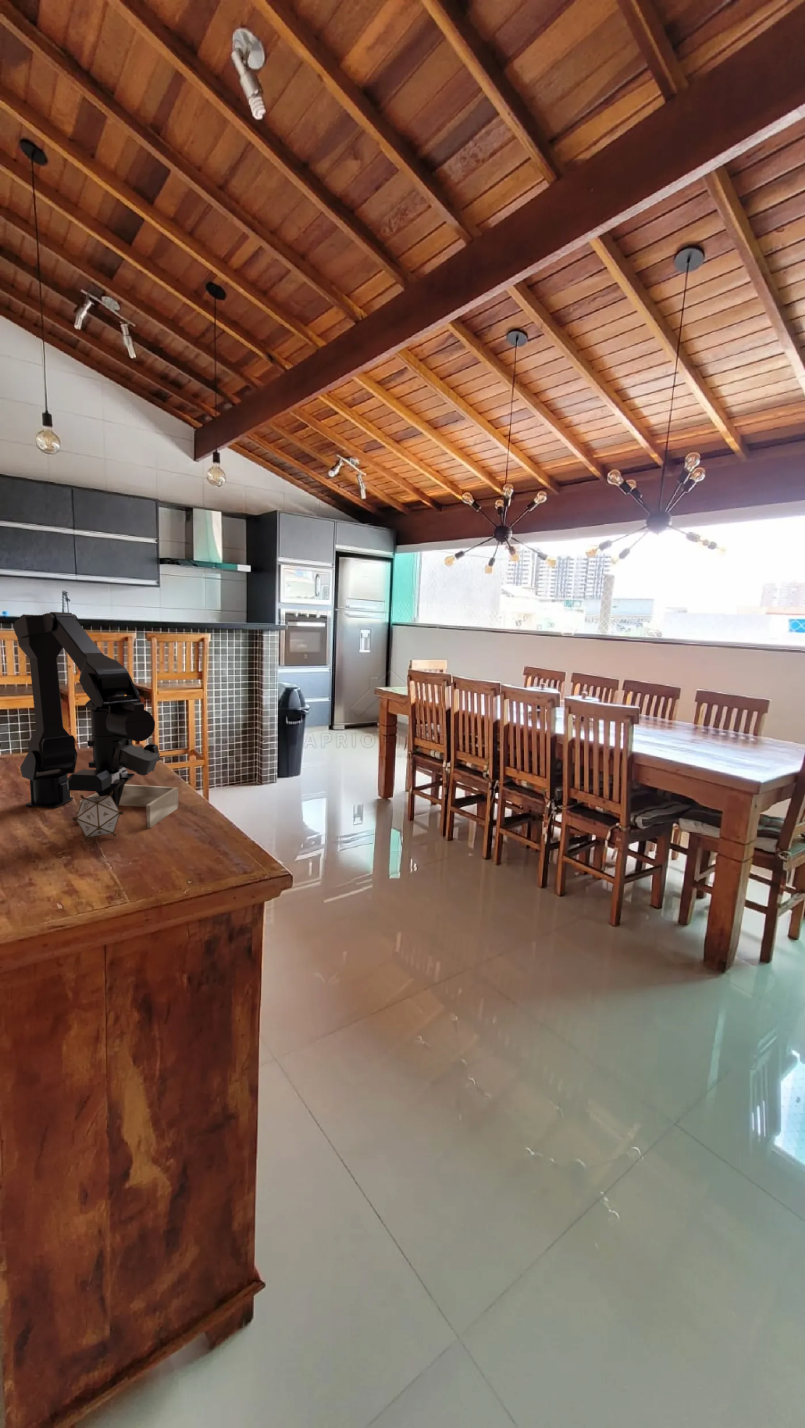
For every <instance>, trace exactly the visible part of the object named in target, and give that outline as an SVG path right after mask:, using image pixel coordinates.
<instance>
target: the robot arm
mask: <svg viewBox="0 0 805 1428" xmlns="http://www.w3.org/2000/svg"><path fill="white" fill-rule="evenodd" d="M13 626H14V627H13V631H14V634H15V636H16V638H17V643H18V647H19V648H20V649H21V650H22V652H23V654H25V656H26V657H27V658H28V660H29V669H30V679H31V689H32V698H33V708H34V721H35V731H34V732H33V734H32V735H31V737H30V739H29V741H28V744H27V745H28V747H27V748H28V752H27V754H26V756H25V758H24V759H23V761H22V763H21V765H20V766H19V768H20V774H21V777H22V778H24V779H27V780H29V788H30V789H29V790H30V791H29V792H30V801H29V802H26V803H25V807H28V808H29V807H34V808H45V809H46V808H48V809H49V808H50V809H55V808H58V807H61V806H62V805H65V804H66V803H69V802H70V801H73V800H74V797H73V796H71V791H74V792H75V791H76V792H77V791H79V792H95V793H97V794H98V795H99V796H106V795H110V792H112V791H113V795H111V797H112V798H113V800H114V802H115V804H116V806H117V807H118V808H119V806H120V805H119V802H120V798H121V795H122V791H123V788H124V785H125V784H126V783H128V782H129V780H131V779H132V778H134V777H135V773H136V774H137V775H139V776H146V775H148V774H149V773H151V772H154V771H155V768H156V766H157V763H158V762H159V761H160V760H161V756H160V755H161V753H160V752H159V746H158V744H155V743H154V742H150V743H148V744H146V745H145V746H144V747H143V745H140V746H136V745H135V744H133V741H134V742H139V743H140V742H144V741H146V740H147V739H150V737H151V736H152V735H153V733H154V731H155V728H156V721H155V719H154V716H153V715H152V713H151V712H149V711H148V710H145V704H144V702H142V699H141V697H140V695H141V694H140V691H139V690H138V689H137V686H136V685H135V683H134V681H133V678H132V677H131V674H130V673H129V670H127V668H126V667H125V666H123V665H122V664H121V663H120V662H119V661H117V660H116V659H113V658H111V657H108V656H106V655H105V654H104V653H103V652H102V651H101V650H100V648H99V647H98V646H97V644H96V643H95V642H94V641H93V640H92V638H91V637H90V636H89V634H88V633H87V631H85V629H84V628H83V627H82V625H81V624H80V622H79V618H78V617H77V615H76V614H74V613H72V612H67V611H66V612H63V611H60V612H59V611H50V612H47V613H44V614H25V613H24V614H22V615H20V616H19V619H16V620H15V622H14V624H13ZM63 649H64V651H65V652H66V653H67V655H68V656H69V657H70V659H71V660H72V661H73V663H74V664H75V666H76V668H77V669H78V670H79V672H80V673H79V678H78V682H79V684H80V685H81V688H82V690H83V691H84V692H85V695H87V696H88V699H89V700H88V701H87V702H86V703H85V704H84V708H88V709H90V721H91V722H90V727H91V739H88V740H87V741H86V742H87V743H86V744H87V747H92V757H93V759H92V760H91V761H89V762H88V769H87V768H85V769H84V768H82V769H81V770H80V769H79V770H78V771H76V772H75V770H76V765H77V758H78V752H77V748H76V738H75V736H74V735H73V734H69V732H68V731H67V730H66V729H65V728H64V719H63V709H62V700H61V688H60V687H61V686H60V678H59V667H58V665H59V664H58V657H59V656H60V653H61V652H62V651H63ZM89 768H90V769H89ZM128 770H130V771H132V772H135V773H128ZM69 774H71V775H69ZM68 775H69V776H68Z"/></svg>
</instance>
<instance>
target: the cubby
mask: <svg viewBox="0 0 805 1428" xmlns="http://www.w3.org/2000/svg"><path fill="white" fill-rule="evenodd" d="M97 796H99V795H98V794H97V792H95V793H93V794H90V795H89V796H86V798H89V797H97ZM82 800H83V799H81V800H79V801H78V809H79V808H80V805H81V803H82ZM119 806H127V807H144V808H146V809H145V810H146V812H145V813H146V828H148V829H151V828H152V827H154V826H155V825H156V824H158V823H159V822H161V821H162V820H163V819H165V818H166V817H168V816H169V815H170V814H172V813H173V812H174V811H176V810H177V809H179V787H178V786H177V787H175V786H174V787H173V786H157V785H140V784H139V785H138V784H126V783H125V785H124V788H123V791H122V795H121V798H120V802H119Z"/></svg>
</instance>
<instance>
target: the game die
mask: <svg viewBox="0 0 805 1428" xmlns="http://www.w3.org/2000/svg"><path fill="white" fill-rule="evenodd" d="M111 795H113V791H112V792H110V795H106V796H97V797H89V796H88V797H89V798H87V797H85V796H84V795H83V794H80V798H81V800H82V803H81V805H80V808H79V807H78V810H77V814H76V816H73V817H71V820H72V821H73V822H77V825H78V826H79V828H80V830H81V831H82V833H83V835H84V837H83V842H86V841H87V839H88V838H93V837H98V836H105V835H113V837H115V838H116V837H117V834H116V833H115V831H116V828H117V825H118V822H119V818H120V815H124V814H125V811H123V810H121V811H120V809H119V806H118V807H117V806H116V804H115V802H114V800H113V798H112V797H111Z"/></svg>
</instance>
